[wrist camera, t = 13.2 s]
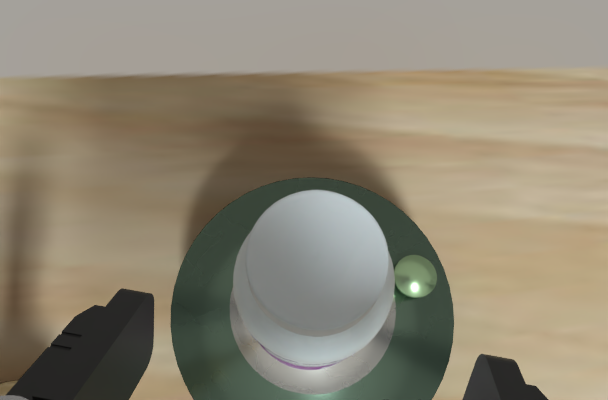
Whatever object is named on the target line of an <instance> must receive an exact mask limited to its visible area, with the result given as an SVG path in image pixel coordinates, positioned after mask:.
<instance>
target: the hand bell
mask: <svg viewBox="0 0 608 400" xmlns="http://www.w3.org/2000/svg"><path fill="white" fill-rule="evenodd" d="M17 381H18V380H17ZM17 381H10V382H5V383H0V396H5V395H6V394H7V393H8V392H9V390H10V389H11V388H12V387H13V386H14V385H15V384H16V383H17Z"/></svg>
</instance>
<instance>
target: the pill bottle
mask: <svg viewBox="0 0 608 400" xmlns="http://www.w3.org/2000/svg"><path fill="white" fill-rule="evenodd" d="M233 289H234V297H235V303H236V306H237V309H238V312H239V314H240V317H241V319H242V321H243V323H244V325H245V326H246V328H247V329H248V331H249V333H250V334H251V335H252V337H253V338H254V339H255V340H256V341H257V342H258V343H259V344H260V345H261V346H262V348H263V349H264V350H265V351H266V352H267V353H269V354H270V355H271V356H272V357H273V358H275V359H276V360H278V361H279V362H281V363H282V364H285V365H287V366H289V367H292V368H296V369H301V370H319V369H325V368H328V367H331V366H333V365H335V364H337V363H339V362H341V361H342V360H344V359H346V358H347V357H349V356H351V355H353V354H355V353H356V352H357V351H359V350H360V349H362V348H363V347H365V346H366V345H367V344H368V343H369V342H370V341H371V340H372V339H373V338H374V337H375V335H376V334H377V333H378V332H379V330H380V329H381V327H382V326H383V324H384V322H385V320H386V318H387V316H388V314H389V311H390V308H391V305H392V301H393V297H394V289H395V276H394V268H393V263H392V259H391V257H390V254H389V251H388V247H387V243H386V239H385V237H384V234H383V232H382V230H381V228H380V226H379V225H378V223H377V221H376V220H375V219H374V217H373V216H372V215H371V214H370V213H369V212H368V211H367V210H366V209H365V208H364V207H363V206H362V205H360V204H359V203H357V202H356V201H354V200H353V199H351V198H349V197H347V196H344V195H342V194H339V193H336V192H332V191H326V190H307V191H300V192H297V193H294V194H290V195H288V196H286V197H284V198H282V199H280V200H278V201H277V202H275V203H274V204H272V205H271V206H270V207H269V208H268V209H267V210H266V211H265V212H264V213H263V214H262V215H261V216H260V218H259V219H258V220H257V222H256V224H255V225H254V227H253V229H252V231H251V232H250V233H249V234H248V236H247V237H246V239H245V241H244V242H243V244H242V246H241V248H240V251H239V253H238V255H237V259H236V263H235V267H234V273H233Z"/></svg>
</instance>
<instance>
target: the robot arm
mask: <svg viewBox="0 0 608 400" xmlns="http://www.w3.org/2000/svg"><path fill="white" fill-rule="evenodd" d="M153 338H154V297H153V295H152V294H150V293H145V292H139V291H134V290H128V289H120V290H119V291H118V292H117V293H116V294H115V296H114V297H113V298H112V299H111V301H110V302H109V303H108V304H107V305H106V307H103V306H97V305H94V306H93V307H91V308H89V309H87V310H86V311H84V312H82V313H80V314H79V315H77V316H75V317H74V318H73V320H72V321H71V322H70V323H69V324H68V325H67V326H66V327H65V329H64V330H63V331H62V334H61V335H60V334H59V335H58V336H57V338H56V339H55V340H54V341H53V342H52V343H51V346H50V347H48V348H47V349H46V350H45V351H44V352H43V353H42V354H41V356H40V357H39V358H38V359H37V360H36V361H35V362H34V363H33V365H32V366H31V367H30V368H29V369H28V370H27V371H26V372H25V374H24V375H23V376H22V377H21V378H20V379H19V380H18V381H17V383H16V384H15V385H14V386H13V387H12V388H11V389H10V390H9V392H8V393H7V394H6V395H5V396H0V400H129V398H130V397H131V395H132V393H133V391H134V390H135V388H136V386H137V384H138V383H139V381H140V379H141V377H142V376H143V374H144V372H145V370H146V368H147V366H148V364H149V361H150V358H151V355H152V350H153ZM463 400H548V399H547V398H546V397H545V396H544V395H543V393H542V392H541V391H540V390H539V389H538V388H537V387H536V386H532V385H527V384H525V381H524V379H523V377H522V374H521V372H520V370H519V367H518V365H517V363H516V362H515V361H514V360H512V359H507V358H502V357H496V356H491V355H485V354H481V355H479V357H478V358H477V360H476V363H475V366H474V369H473V372H472V374H471V377H470V380H469V383H468V386H467V389H466V391H465V394H464V397H463Z"/></svg>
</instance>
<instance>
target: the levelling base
mask: <svg viewBox="0 0 608 400" xmlns="http://www.w3.org/2000/svg"><path fill="white" fill-rule="evenodd" d="M307 190H326V191H332V192H336V193H339V194H342V195H344V196H347V197H349V198H351V199H353V200H354V201H356V202H357V203H359V204H360V205H362V206H363V207H364V208H365V209H366V210H367V211H368V212H369V213H370V214H371V215H372V216H373V217H374V219H375V220H376V221H377V223H378V225H379V226H380V228H381V230H382V232H383V234H384V237H385V239H386V243H387V247H388V251H389V254H390V257H391V259H392V263H393V268H394V276H395V289H394V297H393V301H392V305H391V308H390V311H389V314H388V316H387V318H386V320H385V322H384V324H383V326H382V327H381V329H380V330H379V332H378V333H377V334H376V335H375V337H374V338H373V339H372V340H371V341H370V342H369V343H368V344H367V345H366V346H365V347H363V348H362V349H360V350H359V351H357V352H356V353H355V354H353V355H351V356H349V357H347V358H346V359H344V360H342V361H341V362H339V363H337V364H335V365H333V366H331V367H328V368H325V369H319V370H301V369H296V368H292V367H289V366H287V365H285V364H282V363H281V362H279V361H278V360H276V359H275V358H273V357H272V356H271V355H270V354H269V353H267V352H266V351H265V350H264V349H263V348H262V346H261V345H260V344H259V343H258V342H257V341H256V340H255V339H254V338H253V337H252V335H251V334H250V333H249V331H248V329H247V328H246V326H245V325H244V323H243V321H242V319H241V317H240V314H239V312H238V309H237V306H236V303H235V297H234V289H233V273H234V267H235V263H236V259H237V255H238V253H239V251H240V248H241V246H242V244H243V242H244V241H245V239H246V237H247V236H248V234H249V233H250V232H251V231H252V229H253V227H254V225H255V224H256V222H257V220H258V219H259V218H260V216H261V215H262V214H263V213H264V212H265V211H266V210H267V209H268V208H269V207H270V206H271V205H272V204H274V203H275V202H277V201H278V200H280V199H282V198H284V197H286V196H288V195H290V194H294V193H297V192H300V191H307ZM453 329H454V316H453V303H452V298H451V293H450V287H449V284H448V281H447V278H446V275H445V271H444V268H443V266H442V264H441V262H440V260H439V258H438V256H437V254H436V252H435V250H434V249H433V247H432V245H431V244H430V242H429V241H428V239H427V237H426V236H425V235H424V234H423V232H422V231H421V230H420V229H419V228H418V226H417V225H416V224H415V223H414V222H413V221H412V220H411V219H410V218H409V217H408V216H407V215H406V214H405V213H404V212H403V211H401V210H400V209H399V208H397V207H396V206H395V205H393V204H392V203H391V202H389V201H388V200H386V199H384V198H383V197H381V196H379V195H378V194H376V193H374V192H372V191H369V190H367V189H365V188H362V187H360V186H357V185H354V184H351V183H347V182H344V181H339V180H333V179H327V178H295V179H289V180H283V181H278V182H275V183H271V184H268V185H265V186H262V187H259V188H257V189H255V190H253V191H251V192H248V193H246V194H244V195H243V196H241V197H240V198H238V199H236V200H235V201H233V202H231V203H230V204H229V205H228V206H226V207H225V208H224V209H223V210H221V211H220V212H219V213H218V214H217V215H216V216H215V217H214V218H213V219H212V220H211V221H210V222H209V223H208V224H207V225H206V226H205V227H204V228H203V230H202V231H201V232H200V234H199V235H198V236H197V238H196V239H195V240H194V242H193V244H192V245H191V247H190V249H189V251H188V252H187V254H186V256H185V258H184V261H183V263H182V265H181V268H180V270H179V273H178V276H177V280H176V283H175V287H174V292H173V298H172V305H171V334H172V343H173V348H174V352H175V356H176V360H177V364H178V367H179V370H180V372H181V375H182V377H183V380H184V382H185V384H186V386H187V388H188V390H189V392H190V394H191V396H192V397H193V399H194V400H432V398H433V397H434V395H435V393H436V391H437V389H438V387H439V385H440V383H441V381H442V379H443V376H444V373H445V370H446V368H447V365H448V362H449V357H450V353H451V348H452V343H453Z"/></svg>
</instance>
